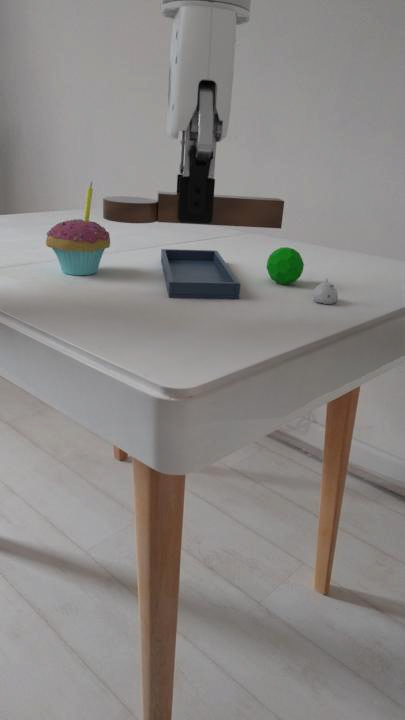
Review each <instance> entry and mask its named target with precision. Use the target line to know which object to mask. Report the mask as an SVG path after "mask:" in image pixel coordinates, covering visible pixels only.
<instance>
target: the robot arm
mask: <svg viewBox="0 0 405 720" xmlns="http://www.w3.org/2000/svg"><path fill="white" fill-rule="evenodd" d="M251 3H252V0H161V11H160V12H161V15H162V16H163V17H164V18H166V19H169V20H171V21H173V22H172V29H171V40H170V51H169V67H168V87H167V89H168V90H167V111H166V128H165V134H166V135H167V137H168V138H169V139H171V140H178V138H179V134H180V136H181V137H180V152H179V174H178V173H177V177H176V192H178V193H179V203H178V219H179V221H180V222H188V223H207V224H208V223H211V221H212V215H213V201H214V195H215V185H216V179H215V168H216V155H217V154H216V152H217V143H219V142H222V141H223V140H225V139H226V137H227V135H228V130H229V124H230V115H231V105H232V95H233V83H234V70H235V53H236V52H235V51H236V42H237V38H236V36H237V26H241V25H244V24H245V25H246V24H247V23H248V22H250V15H251ZM180 131H181V133H179V132H180Z"/></svg>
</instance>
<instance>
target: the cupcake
mask: <svg viewBox="0 0 405 720" xmlns="http://www.w3.org/2000/svg"><path fill="white" fill-rule="evenodd" d="M92 187H93V181H90V185H89V187H87V190H86V198H85V200H86V201H85V207H84V208H85V209H84V217H83V219H81V218H78V219H76V218H74V219H70V220H65V221H60V222H58V223H57V224H55V225H54V226H52V227H51V228H50V229H49V230H48V231H47V233H46V235H47V236H46V239H45V245H46V246H47V247H48V248H51V249H52V251H53V252H54V254H55V256H56V259H57V260H58V262H59V265H60V269H61V271H62V273H64V274H66V275H70V276H91V275H94V274H97V272H98V270H99V267H100V266H99V265H100V263H101V260H102V257H103V254H104V252H105V250H106V249H108V248H110V247H111V237H110V232H109V231H107V230H106V228H105V227H104V226H102V225H100V223H97V221H96V222H95V221H91V220H90V214H91V207H92V199H93V198H92V197H93V188H92Z"/></svg>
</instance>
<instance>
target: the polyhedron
mask: <svg viewBox="0 0 405 720" xmlns="http://www.w3.org/2000/svg"><path fill="white" fill-rule="evenodd" d="M304 266H305V264H304V261H303V258H302V255H301V253H300V252H298V251H297V250H296V249H294V248H291V247H287V246H286V247H279V248H277V249H275V250H274V251H272V252H271V253H270V254H269V256H268V259H267V262H266V270H267V273H268V275H269V278H270V279H271V280H272V281H273V282H275V283H276V284H279V285H290V284H293V283H295V282H296V281H297V280H298V279H299V278H300V277H301V276H302V274H303V271H304Z"/></svg>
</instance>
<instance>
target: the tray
mask: <svg viewBox="0 0 405 720" xmlns="http://www.w3.org/2000/svg"><path fill="white" fill-rule="evenodd" d="M160 262H161V267H162V271H163V277H164V281H165V282H164V283H165V286H166V290H167V291H166V292H167V295H168V298H172V299H173V298H176V299H177V298H178V299H179V298H180V299H183V298H184V299H232V300H233V299H240V291H241V283H240V281H239V279H238V278H237V276H235V273H233V271H232V270H231V269H230V267H229V266H228V264H227V263H226V261H225V260H224V258H223V257H222V256H221V254H220V252H219V251H218V250H213V249H208V250H206V249H177V248H176V249H175V248H174V249H173V248H165V249H164V248H161V249H160Z"/></svg>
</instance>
